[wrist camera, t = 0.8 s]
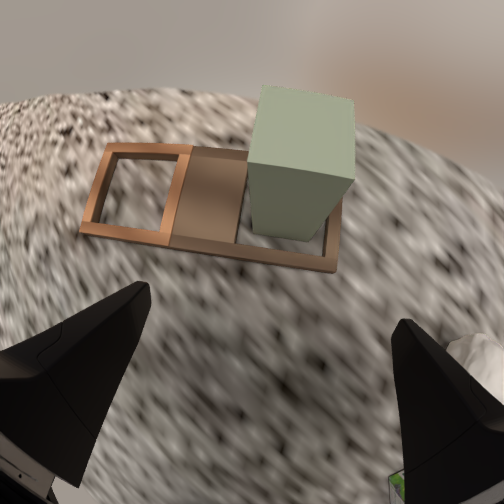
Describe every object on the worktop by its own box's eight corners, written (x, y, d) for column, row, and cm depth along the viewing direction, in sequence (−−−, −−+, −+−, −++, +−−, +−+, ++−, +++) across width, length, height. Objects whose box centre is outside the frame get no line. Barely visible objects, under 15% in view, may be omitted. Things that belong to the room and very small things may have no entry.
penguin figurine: (507, 329, 13) (548, 377, 12) (438, 322, 21) (493, 366, 21) (468, 416, 12) (519, 439, 11) (405, 386, 20) (468, 417, 20)
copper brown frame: (332, 273, 22) (336, 271, 21) (87, 235, 23) (79, 231, 22) (340, 172, 24) (344, 165, 23) (113, 149, 25) (107, 142, 24)
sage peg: (308, 242, 23) (354, 179, 11) (253, 233, 23) (247, 161, 11) (313, 191, 24) (353, 100, 12) (261, 183, 24) (262, 85, 12)
